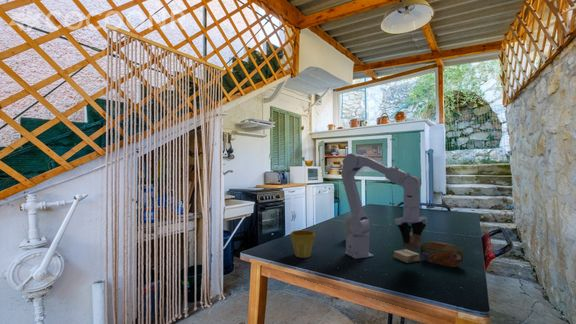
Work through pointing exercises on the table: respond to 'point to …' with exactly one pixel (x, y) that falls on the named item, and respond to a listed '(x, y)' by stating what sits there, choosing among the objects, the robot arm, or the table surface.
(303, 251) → the plant pot
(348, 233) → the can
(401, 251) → the oak block
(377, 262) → the table surface
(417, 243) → the walnut block
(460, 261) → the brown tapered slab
